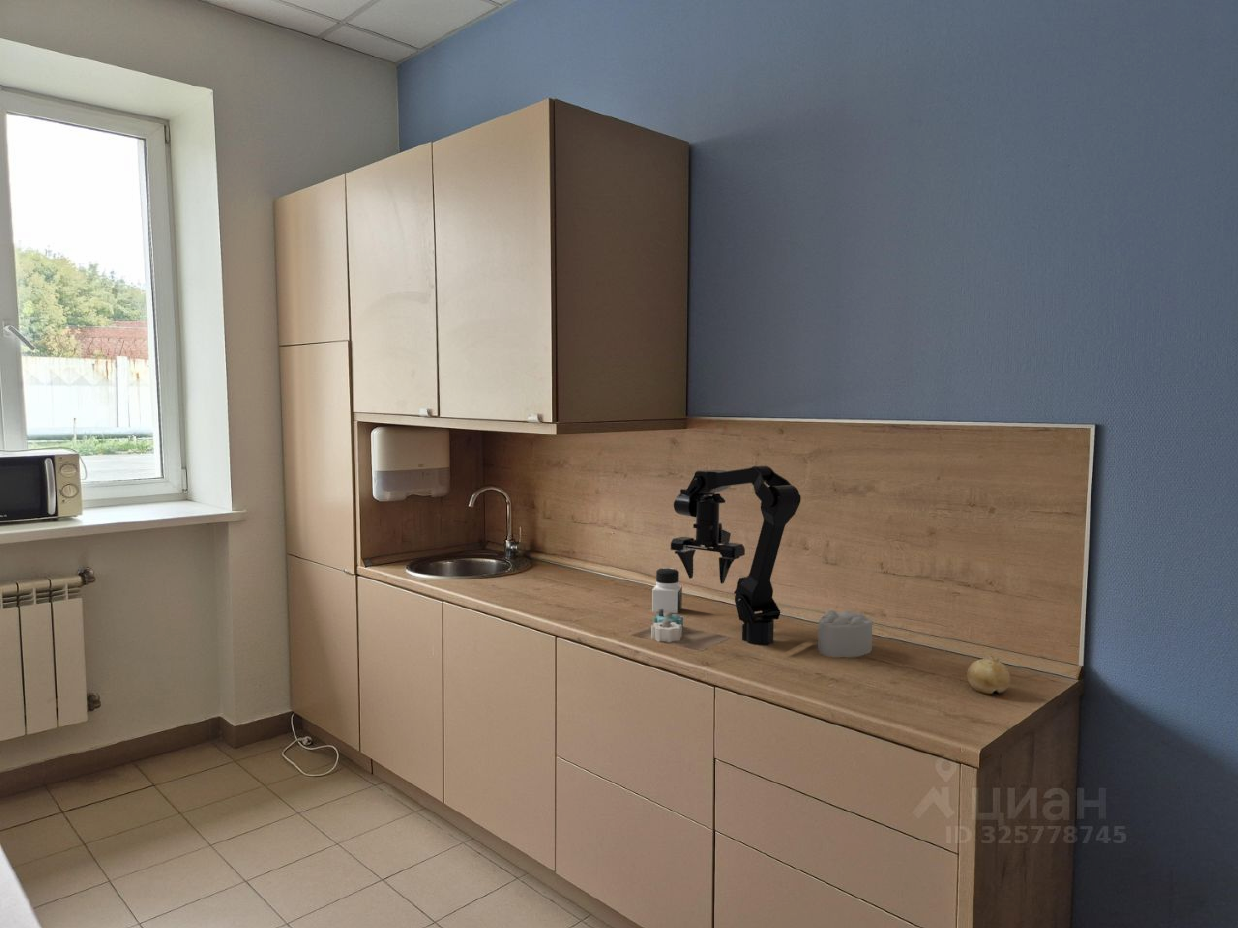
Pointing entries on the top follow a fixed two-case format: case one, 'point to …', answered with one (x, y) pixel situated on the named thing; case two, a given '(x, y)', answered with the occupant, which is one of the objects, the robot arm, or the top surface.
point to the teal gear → (674, 618)
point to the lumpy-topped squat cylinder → (844, 634)
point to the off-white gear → (666, 632)
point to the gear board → (687, 637)
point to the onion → (988, 676)
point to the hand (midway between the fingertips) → (706, 580)
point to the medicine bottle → (667, 591)
